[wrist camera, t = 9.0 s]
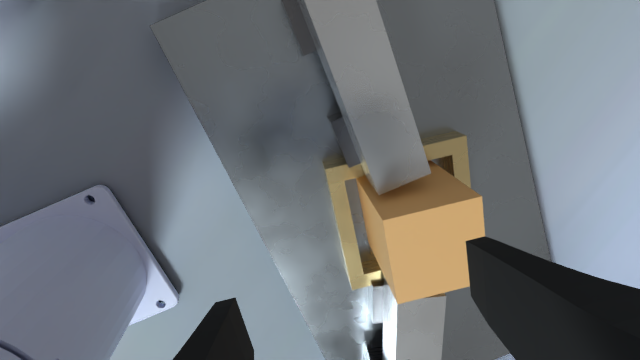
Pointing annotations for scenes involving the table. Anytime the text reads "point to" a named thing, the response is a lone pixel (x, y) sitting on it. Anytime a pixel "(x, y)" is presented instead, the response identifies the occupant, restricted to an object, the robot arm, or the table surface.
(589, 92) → the table surface
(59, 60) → the table surface
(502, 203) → the shaft bench
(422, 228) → the tan rectangular block
